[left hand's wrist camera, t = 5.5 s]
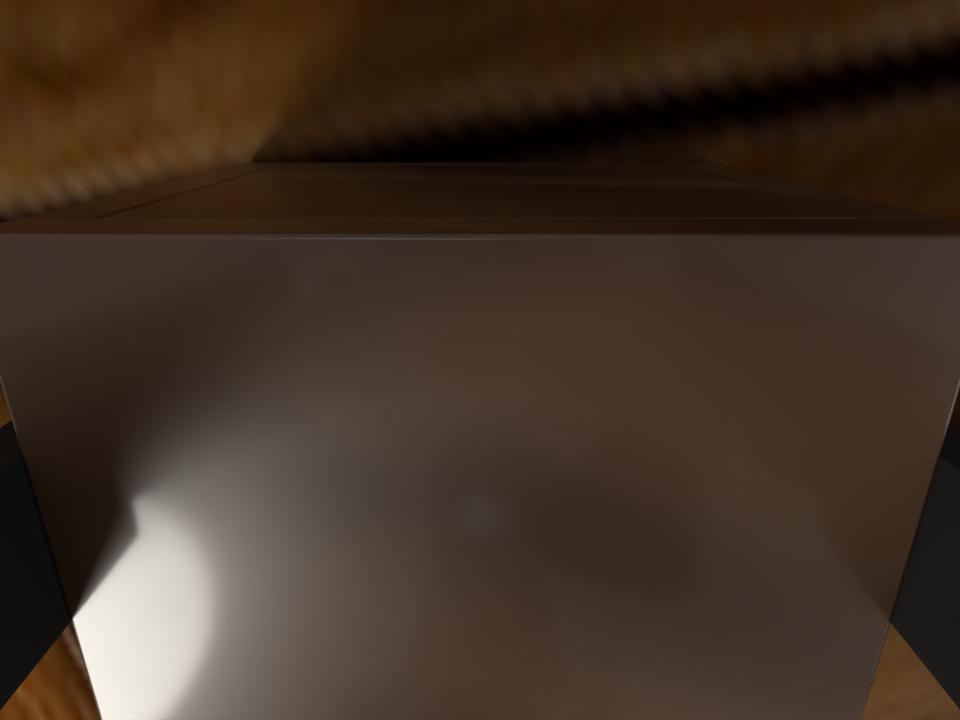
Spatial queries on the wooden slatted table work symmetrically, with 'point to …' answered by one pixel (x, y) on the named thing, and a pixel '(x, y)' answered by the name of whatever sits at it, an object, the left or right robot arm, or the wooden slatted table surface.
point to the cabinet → (480, 437)
